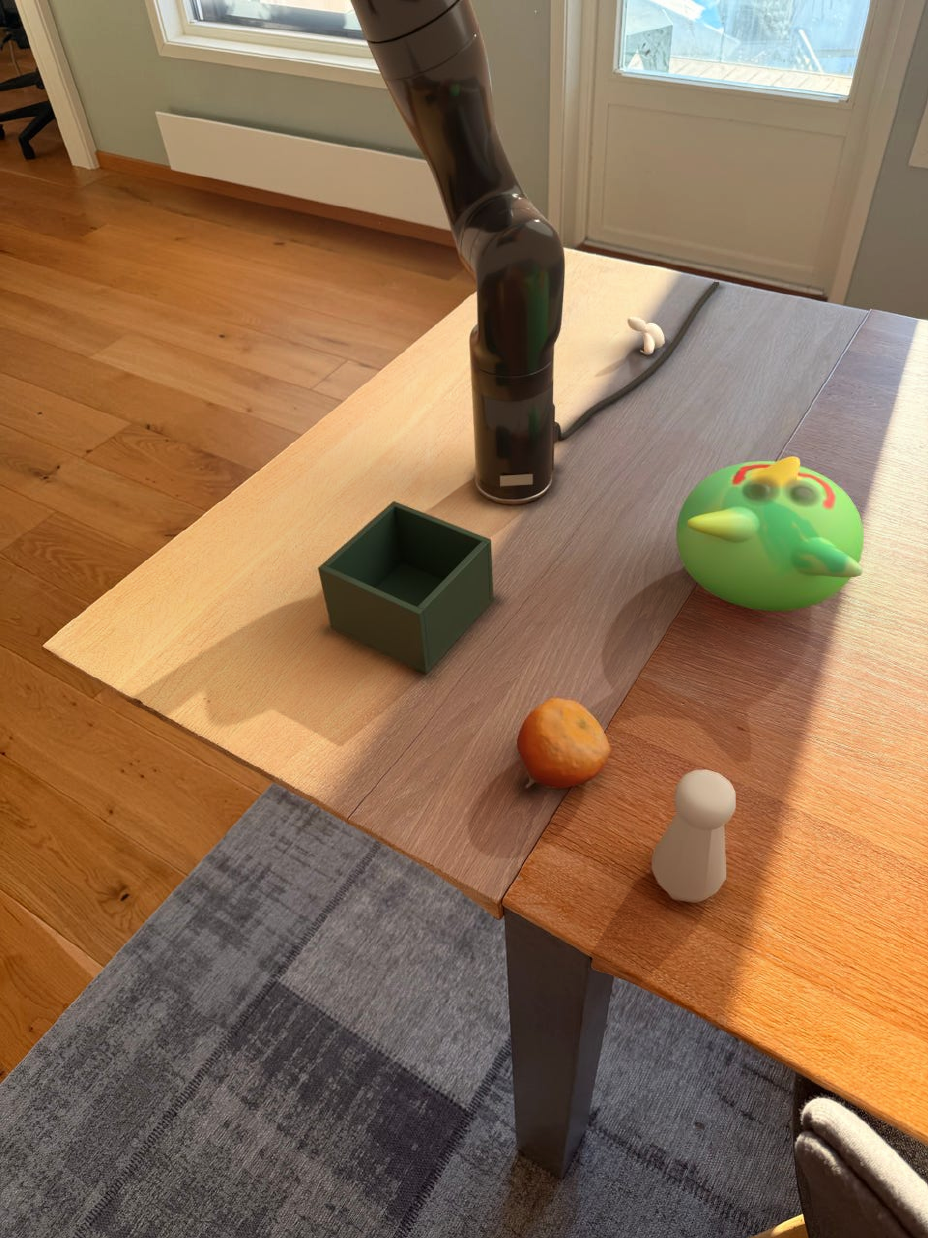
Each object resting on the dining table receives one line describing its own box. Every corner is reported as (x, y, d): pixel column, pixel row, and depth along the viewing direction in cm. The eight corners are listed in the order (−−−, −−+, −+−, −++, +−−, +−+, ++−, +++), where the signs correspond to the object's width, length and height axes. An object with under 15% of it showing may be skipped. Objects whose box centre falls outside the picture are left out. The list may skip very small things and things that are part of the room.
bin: (401, 560, 102) (393, 500, 96) (493, 600, 97) (491, 539, 91) (331, 628, 95) (317, 567, 89) (426, 675, 90) (418, 614, 84)
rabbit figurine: (679, 347, 132) (657, 345, 126) (658, 364, 134) (636, 363, 128) (657, 314, 133) (635, 310, 127) (637, 332, 135) (614, 329, 129)
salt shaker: (721, 919, 71) (750, 831, 61) (646, 907, 72) (664, 818, 62) (721, 853, 75) (748, 761, 65) (651, 843, 76) (668, 750, 66)
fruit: (491, 728, 83) (536, 675, 78) (563, 747, 86) (611, 697, 81) (501, 803, 77) (551, 750, 73) (578, 821, 81) (630, 771, 76)
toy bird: (847, 553, 99) (885, 441, 89) (839, 663, 88) (880, 550, 78) (682, 525, 104) (699, 415, 94) (654, 626, 93) (670, 515, 83)
